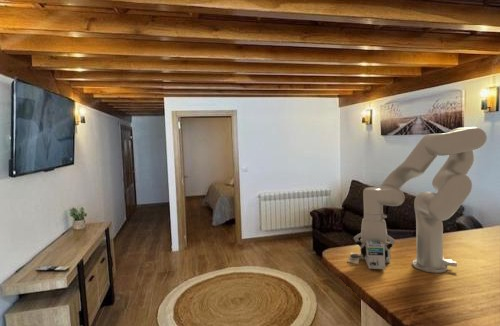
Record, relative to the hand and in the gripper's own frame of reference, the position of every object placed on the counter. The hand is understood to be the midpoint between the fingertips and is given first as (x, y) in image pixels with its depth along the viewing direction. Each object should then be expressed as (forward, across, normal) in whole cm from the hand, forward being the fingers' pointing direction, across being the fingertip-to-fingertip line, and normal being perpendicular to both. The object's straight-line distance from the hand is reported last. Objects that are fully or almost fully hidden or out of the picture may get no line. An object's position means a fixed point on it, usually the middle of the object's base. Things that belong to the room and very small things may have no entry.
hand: (374, 257), depth 129 cm
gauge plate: (+4, +2, -6) cm, 8 cm away
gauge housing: (+4, +3, -7) cm, 8 cm away
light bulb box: (+3, 0, 0) cm, 3 cm away
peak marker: (+4, +9, -7) cm, 12 cm away
